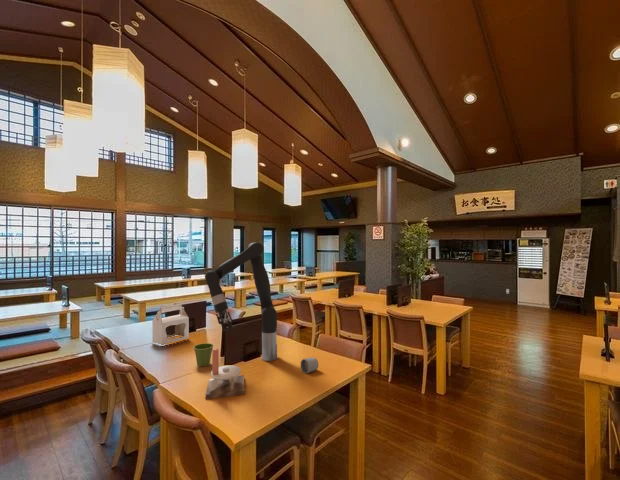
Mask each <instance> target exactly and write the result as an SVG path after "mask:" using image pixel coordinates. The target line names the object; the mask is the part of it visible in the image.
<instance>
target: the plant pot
mask: <svg viewBox="0 0 620 480" xmlns="http://www.w3.org/2000/svg"><path fill="white" fill-rule="evenodd" d="M214 346H215V345H214V344H213V343H211V342H210V343H208V342H205V343H198V344H195V345H194V346H193V347H192V348H193V350H194V354H195V359H196V366H197V367H200V366H201V367H207V366H209V365H210V364H211V363H210V362H211V359H212V349H214ZM208 364H209V365H208ZM206 365H207V366H206Z"/></svg>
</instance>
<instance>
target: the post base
mask: <svg viewBox="0 0 620 480" xmlns="http://www.w3.org/2000/svg"><path fill="white" fill-rule="evenodd" d="M210 379H212V377H211V378H209V379H208V383H207V387H206V390H205V391H206V392H205V396H204V399H205V400H207V399H206V398H209V399H217V397H218V398H227V397H233V396H244V395H245V375H244V374H243V375H241V374H240V375H238V376H237V377H235V378H234V377H232V378H230V379H227V380H217V387H215V388H213V389H209V380H210Z"/></svg>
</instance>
